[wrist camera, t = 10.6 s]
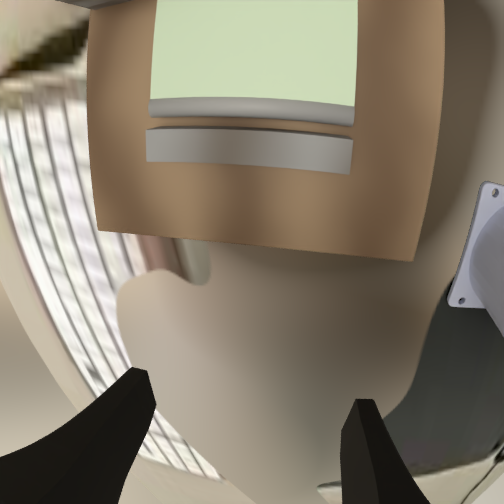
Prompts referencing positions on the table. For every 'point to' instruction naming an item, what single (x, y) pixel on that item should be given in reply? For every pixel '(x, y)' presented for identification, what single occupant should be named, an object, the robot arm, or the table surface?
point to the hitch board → (270, 145)
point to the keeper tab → (255, 59)
